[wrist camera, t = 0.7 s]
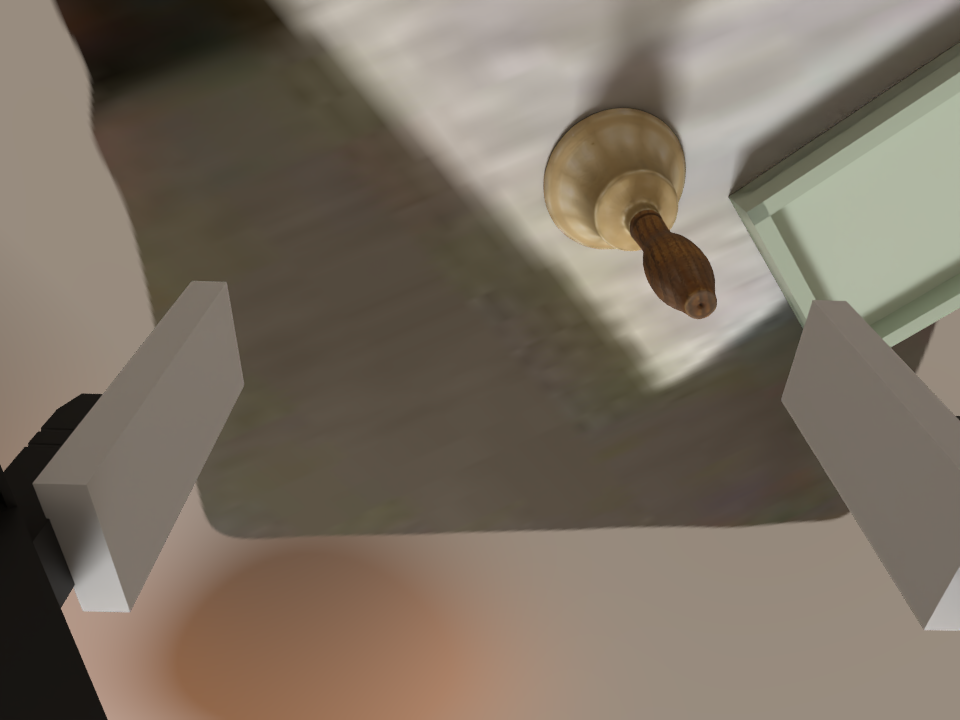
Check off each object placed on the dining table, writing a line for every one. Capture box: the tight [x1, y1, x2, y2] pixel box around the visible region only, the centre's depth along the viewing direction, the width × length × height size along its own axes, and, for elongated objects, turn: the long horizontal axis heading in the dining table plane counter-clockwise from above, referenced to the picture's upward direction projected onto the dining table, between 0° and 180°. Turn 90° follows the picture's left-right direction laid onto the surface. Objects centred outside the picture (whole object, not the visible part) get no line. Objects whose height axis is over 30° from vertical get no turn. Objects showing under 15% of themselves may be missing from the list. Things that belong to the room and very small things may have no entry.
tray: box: [729, 42, 960, 347], centre depth 42 cm, size 16×14×3 cm
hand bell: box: [544, 108, 717, 319], centre depth 35 cm, size 8×8×16 cm
